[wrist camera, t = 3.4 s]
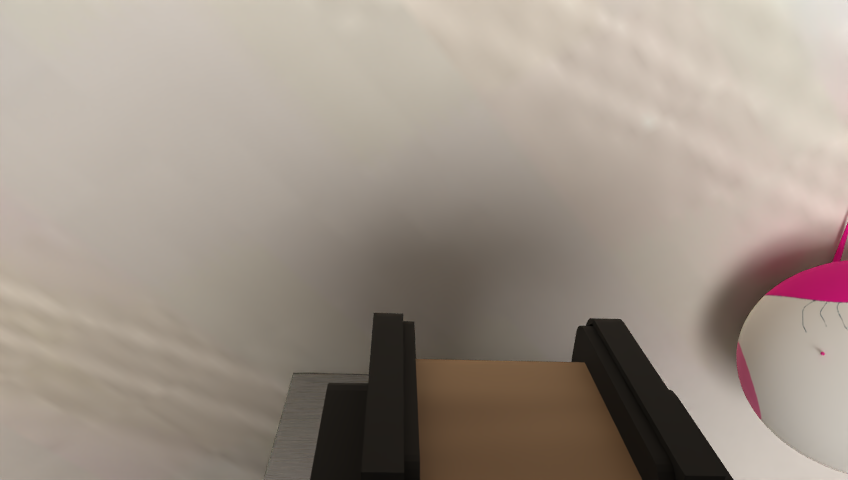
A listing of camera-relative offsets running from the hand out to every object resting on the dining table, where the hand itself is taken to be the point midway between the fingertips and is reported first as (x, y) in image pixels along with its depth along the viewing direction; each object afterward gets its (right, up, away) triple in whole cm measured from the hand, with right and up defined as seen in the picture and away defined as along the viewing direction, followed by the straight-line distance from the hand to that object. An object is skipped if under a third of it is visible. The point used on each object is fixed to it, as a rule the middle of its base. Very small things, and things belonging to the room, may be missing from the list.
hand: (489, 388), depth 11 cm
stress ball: (+12, +1, +8) cm, 14 cm away
